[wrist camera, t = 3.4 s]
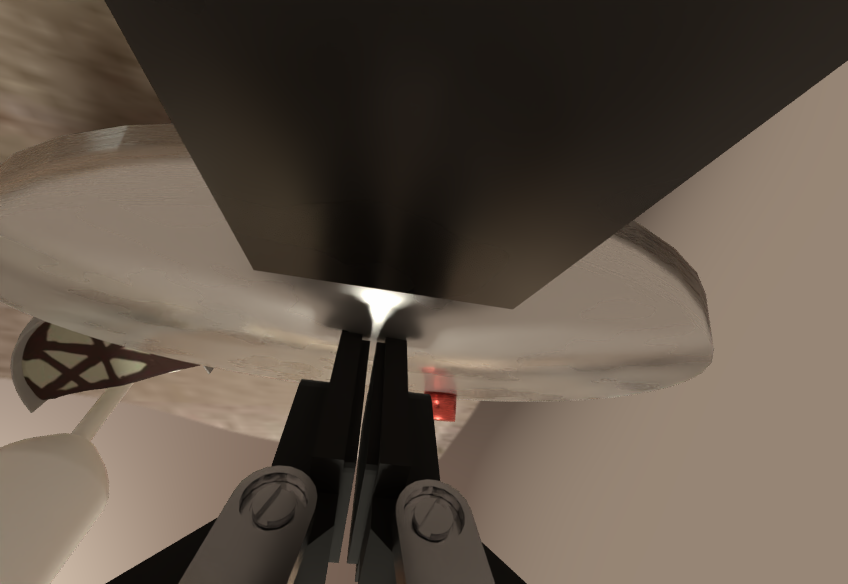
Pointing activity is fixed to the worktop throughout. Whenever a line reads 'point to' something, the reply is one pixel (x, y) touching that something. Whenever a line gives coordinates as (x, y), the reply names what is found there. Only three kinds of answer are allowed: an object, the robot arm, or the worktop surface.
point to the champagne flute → (51, 496)
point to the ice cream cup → (77, 363)
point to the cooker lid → (408, 186)
